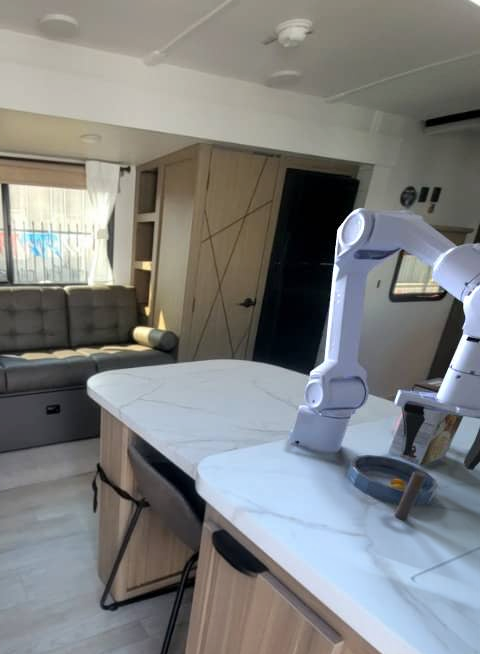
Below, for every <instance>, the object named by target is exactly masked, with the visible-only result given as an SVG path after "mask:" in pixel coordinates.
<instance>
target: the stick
mask: <svg viewBox="0 0 480 654" xmlns="http://www.w3.org/2000/svg"><path fill="white" fill-rule="evenodd" d="M426 477H427V475H426V474H424V473H422V472H419V471H414V472H413V474H412V476H411V478H410V480H409V482H408V483H407V484H406V487H405V492H404V494H403V496H402V499H401V501H400V503H399V505H397V508H396V510H395V513H394V514H393V515H394V517H395V518H396V519H398V520H400V521H407V520H408V518H409V516H410V514H411V511H412V509H413V505H414V503H415V501H416V498H417V496H418V494H419V492H420V490H421V487H422V485H423V483H424V481H425V479H426Z"/></svg>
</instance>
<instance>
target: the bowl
mask: <svg viewBox="0 0 480 654" xmlns="http://www.w3.org/2000/svg"><path fill="white" fill-rule="evenodd" d="M414 471H419V472H422V473H424V474H426V475H427V477H426V479H425V481H424V483H423V485H422V487H421V490H420V492H419V494H418V496H417V498H416V501H415V503H414V505H413V507H415V508H417V507H421V506H422V507H423V506H427V505H428V504H430V502H432V500H433V498H434V496H435V494H436V492H437V489H439V488H438V487H439V486H438V483H437V480H436V479H435V478H434V477H433V476H432V475H431V474H429V473H428V472H427V471H425V470H423V469H421V468H419V467H417V466H415V465H414V464H411V463H409V462H406V461H403V460H400V459H397V458H393V457H388V456H383V455H376V454H375V455H374V454H365V455H364V454H363V455H357V456H356V457H354V458H353V459H351V461H350V464H349V465H348V469H347V472H346V474H347V475H346V476H347V477H346V478H347V480H348V481H349V482H350V484H351V485H352V486H354V487H355V488H356V489H358V490H359V491H361V492H362V493H364V494H366V495H368V496H371V497H372V498H375V499H377V500H379V501H382V502H385V503H389V504H393V505H397V506H399V503H400V501H401V499H402V496H403V494H404V492H405V490H406V489H405V490H402V489H398V488H394V487H391V486H389V485H386V484H384V483H381V482H379V481H376V480H374V479H372V478H371V477H369V476H367V475H366V474H364V473H363V472H378V473H384V474H388V475H392V476H394V477H396V478H398V479H401V480H403V481H406V482H408V483H409V480H410V478H411V476H412V474H413V472H414ZM413 507H412V508H413Z"/></svg>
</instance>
